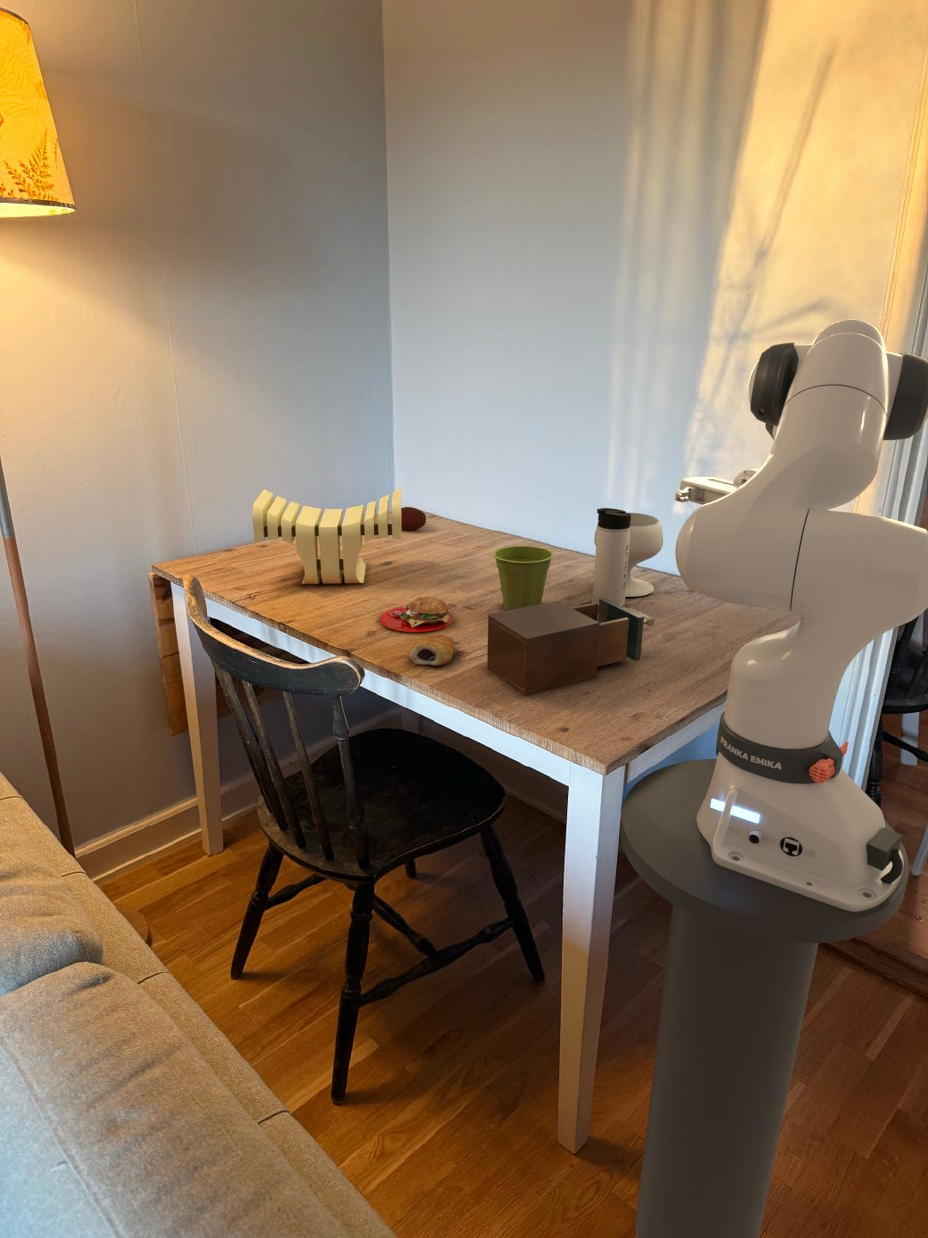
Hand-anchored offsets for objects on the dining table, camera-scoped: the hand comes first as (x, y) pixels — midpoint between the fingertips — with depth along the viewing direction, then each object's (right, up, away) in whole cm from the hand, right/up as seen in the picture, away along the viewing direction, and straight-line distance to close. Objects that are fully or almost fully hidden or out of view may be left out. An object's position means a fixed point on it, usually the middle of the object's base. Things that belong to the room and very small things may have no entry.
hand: (697, 502), depth 139 cm
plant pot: (-28, -18, +24) cm, 41 cm away
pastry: (-45, -26, +1) cm, 52 cm away
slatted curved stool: (-68, -11, +42) cm, 80 cm away
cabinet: (-27, -29, -5) cm, 40 cm away
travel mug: (-11, -18, +24) cm, 32 cm away
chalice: (-6, -14, +35) cm, 37 cm away
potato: (-54, +4, +78) cm, 95 cm away
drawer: (-16, -26, 0) cm, 30 cm away
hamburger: (-49, -20, +17) cm, 55 cm away
